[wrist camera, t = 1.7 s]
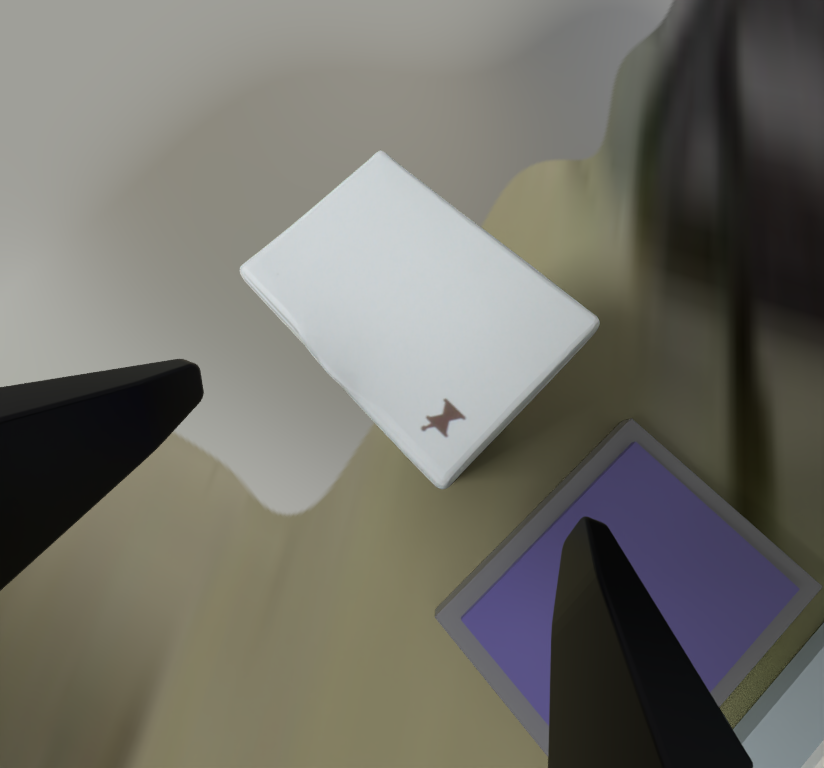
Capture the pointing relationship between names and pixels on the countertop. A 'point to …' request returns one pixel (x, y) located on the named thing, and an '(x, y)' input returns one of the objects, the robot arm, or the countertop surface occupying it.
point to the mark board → (789, 714)
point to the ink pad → (654, 564)
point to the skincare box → (418, 314)
